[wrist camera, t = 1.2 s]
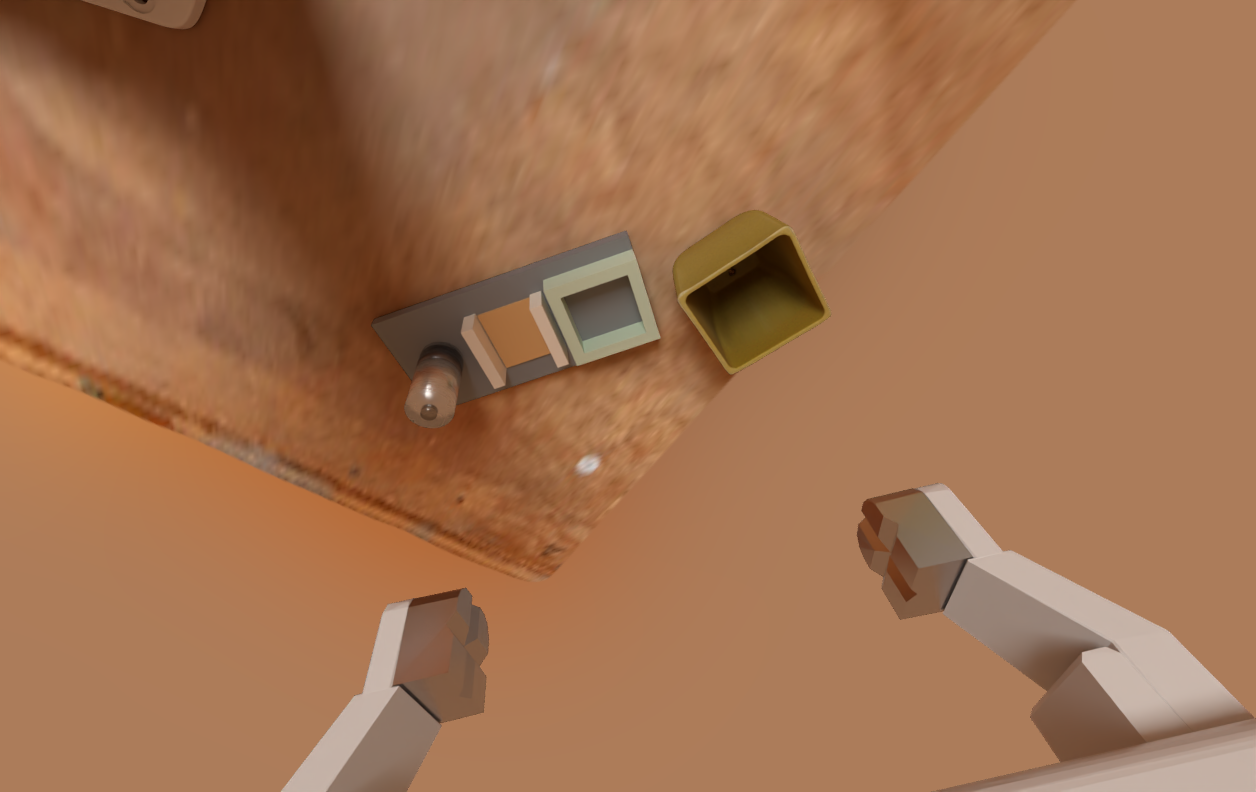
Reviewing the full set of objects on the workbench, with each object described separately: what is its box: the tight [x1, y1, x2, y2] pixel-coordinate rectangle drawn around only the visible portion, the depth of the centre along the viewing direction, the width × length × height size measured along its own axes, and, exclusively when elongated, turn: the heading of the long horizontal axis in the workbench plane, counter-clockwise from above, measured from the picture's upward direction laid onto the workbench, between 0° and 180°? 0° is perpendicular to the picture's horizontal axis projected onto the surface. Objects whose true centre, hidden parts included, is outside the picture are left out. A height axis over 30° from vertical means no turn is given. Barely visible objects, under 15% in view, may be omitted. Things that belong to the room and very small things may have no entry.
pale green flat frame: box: [543, 249, 660, 366], centre depth 43 cm, size 8×8×2 cm
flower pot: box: [673, 210, 831, 375], centre depth 40 cm, size 9×9×9 cm
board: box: [371, 231, 642, 405], centre depth 44 cm, size 22×10×1 cm, turn 108°
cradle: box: [461, 291, 569, 389], centre depth 43 cm, size 7×6×2 cm
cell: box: [404, 342, 464, 428], centre depth 42 cm, size 4×4×8 cm
